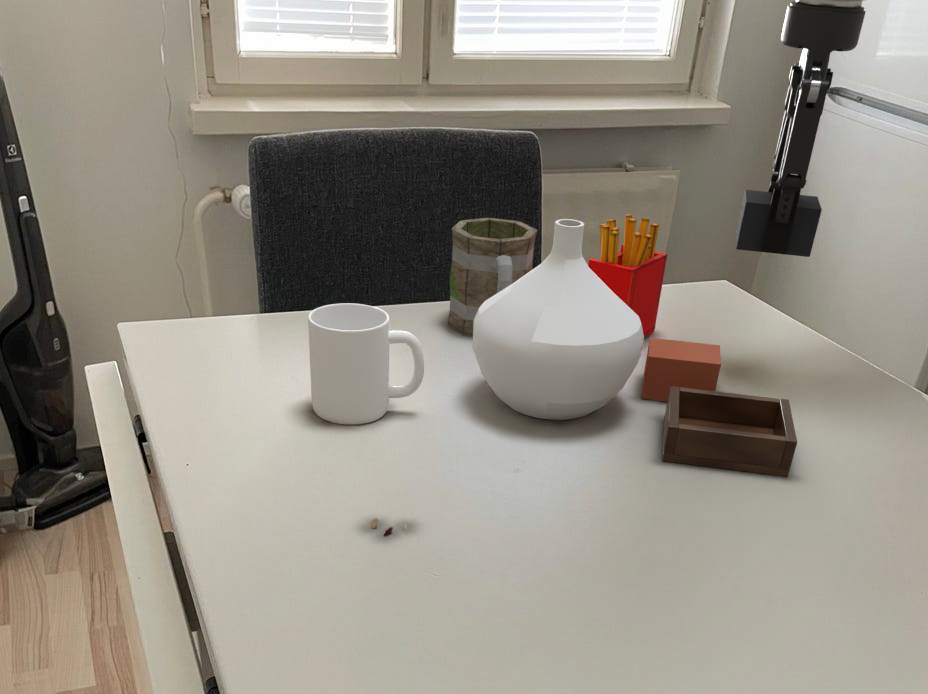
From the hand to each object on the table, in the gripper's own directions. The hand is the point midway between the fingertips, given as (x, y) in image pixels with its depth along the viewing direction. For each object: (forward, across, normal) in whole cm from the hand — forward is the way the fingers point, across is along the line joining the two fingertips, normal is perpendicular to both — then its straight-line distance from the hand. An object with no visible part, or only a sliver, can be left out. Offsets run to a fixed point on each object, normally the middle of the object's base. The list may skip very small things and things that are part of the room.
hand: (771, 243), depth 112 cm
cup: (+15, +25, -40) cm, 50 cm away
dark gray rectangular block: (0, 0, 0) cm, 0 cm away
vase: (+15, +17, -21) cm, 31 cm away
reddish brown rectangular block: (+15, +10, -8) cm, 19 cm away
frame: (+15, +22, -2) cm, 27 cm away
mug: (+15, -3, -32) cm, 36 cm away
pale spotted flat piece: (+15, +49, -32) cm, 61 cm away
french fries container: (+15, -6, -16) cm, 23 cm away
